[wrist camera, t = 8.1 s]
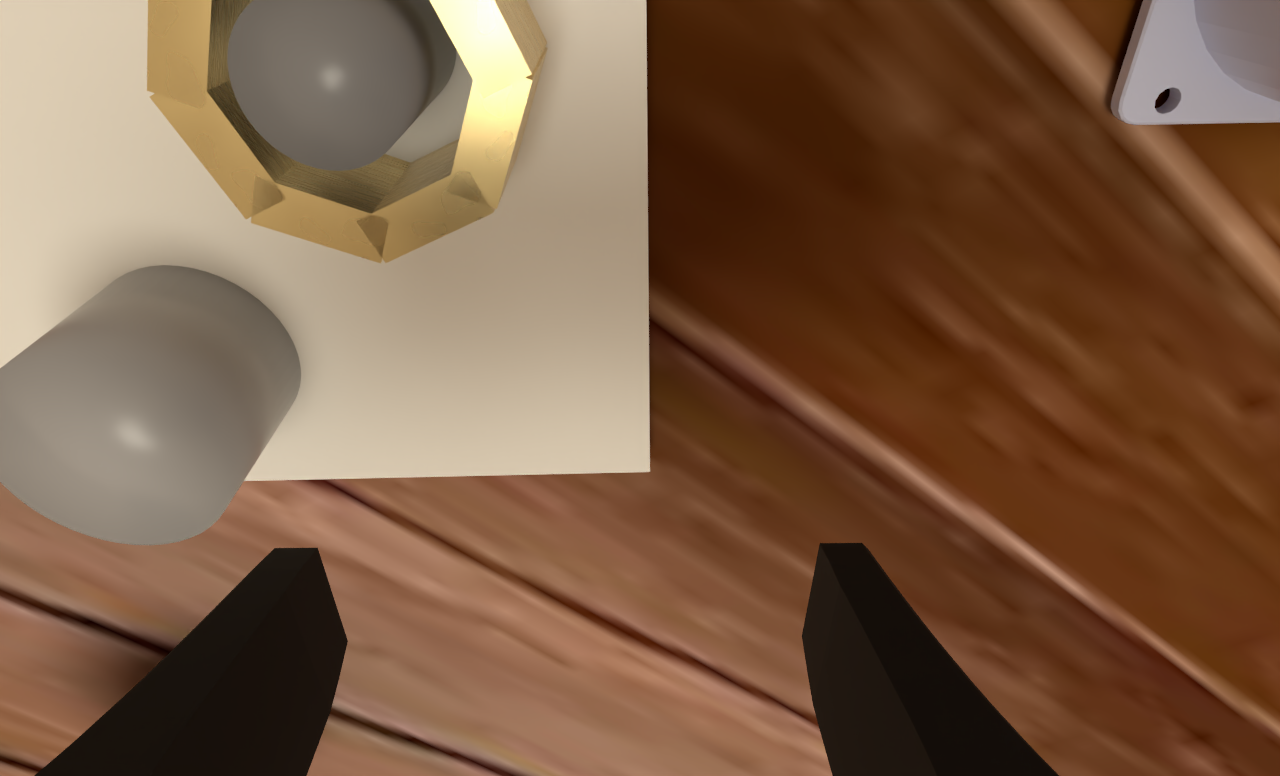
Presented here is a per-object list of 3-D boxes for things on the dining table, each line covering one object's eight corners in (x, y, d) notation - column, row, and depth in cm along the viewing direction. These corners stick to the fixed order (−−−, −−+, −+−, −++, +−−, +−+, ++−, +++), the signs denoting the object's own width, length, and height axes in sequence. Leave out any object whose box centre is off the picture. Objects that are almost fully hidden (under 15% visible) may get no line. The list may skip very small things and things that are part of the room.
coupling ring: (575, -49, 14) (564, -36, 11) (495, 232, 17) (473, 292, 14) (244, -189, 13) (150, -207, 10) (222, 141, 16) (145, 190, 13)
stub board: (643, -223, 13) (652, -275, 9) (649, 449, 22) (655, 584, 17) (-276, -209, 13) (-696, -255, 9) (86, 461, 21) (-44, 600, 17)
